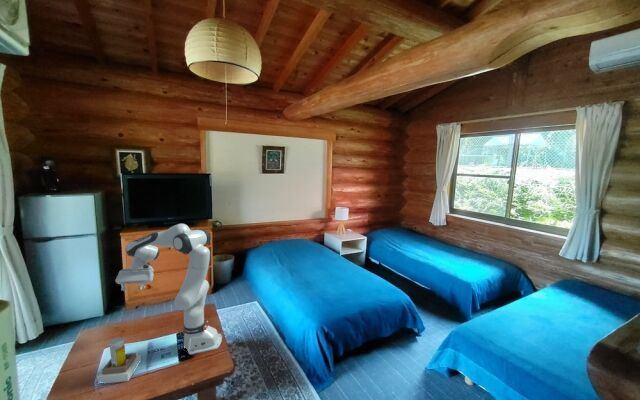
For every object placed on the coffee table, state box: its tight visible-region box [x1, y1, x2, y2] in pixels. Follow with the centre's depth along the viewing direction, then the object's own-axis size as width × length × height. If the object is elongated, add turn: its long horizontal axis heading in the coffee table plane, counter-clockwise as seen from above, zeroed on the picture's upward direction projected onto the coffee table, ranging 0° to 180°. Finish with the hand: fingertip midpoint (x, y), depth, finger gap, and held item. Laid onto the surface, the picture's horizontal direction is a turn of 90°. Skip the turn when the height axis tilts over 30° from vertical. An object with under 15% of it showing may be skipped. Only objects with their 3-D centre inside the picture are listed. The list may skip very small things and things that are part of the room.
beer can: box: [109, 336, 126, 367], centre depth 144 cm, size 6×6×15 cm
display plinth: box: [96, 352, 142, 384], centre depth 145 cm, size 14×14×6 cm
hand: (131, 289), depth 166 cm, fingers open, 8 cm apart
